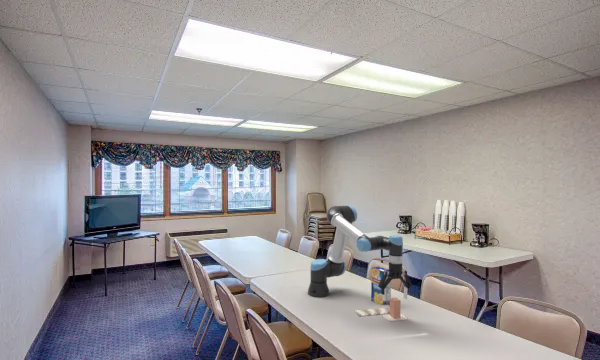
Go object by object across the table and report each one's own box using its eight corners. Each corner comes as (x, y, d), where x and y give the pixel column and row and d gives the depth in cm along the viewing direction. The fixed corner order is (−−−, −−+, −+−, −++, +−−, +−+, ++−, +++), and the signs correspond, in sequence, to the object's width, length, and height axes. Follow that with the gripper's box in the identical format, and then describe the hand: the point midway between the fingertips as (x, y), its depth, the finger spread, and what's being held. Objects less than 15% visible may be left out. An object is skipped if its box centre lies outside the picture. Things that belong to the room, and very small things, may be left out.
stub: (388, 321, 182) (388, 302, 182) (382, 316, 189) (382, 297, 189) (407, 319, 185) (408, 300, 185) (400, 314, 192) (401, 296, 192)
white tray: (366, 325, 179) (366, 322, 179) (353, 313, 196) (353, 310, 196) (409, 321, 185) (409, 318, 185) (392, 309, 202) (392, 306, 202)
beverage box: (383, 305, 209) (383, 271, 209) (371, 300, 218) (371, 267, 219) (390, 303, 213) (391, 270, 213) (378, 298, 222) (378, 266, 222)
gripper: (378, 265, 181) (378, 303, 181) (418, 263, 187) (417, 300, 187) (372, 261, 188) (372, 298, 188) (411, 260, 194) (410, 295, 194)
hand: (394, 299), depth 187 cm, fingers open, 13 cm apart
